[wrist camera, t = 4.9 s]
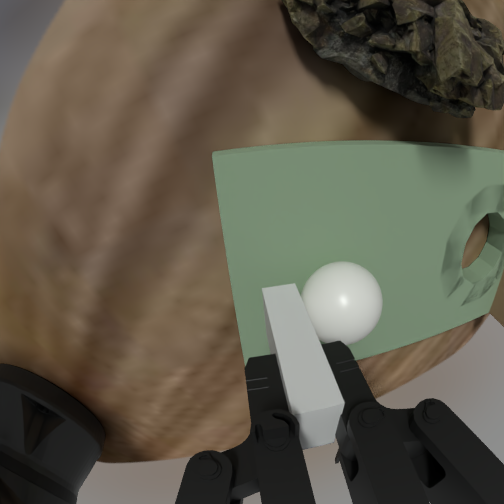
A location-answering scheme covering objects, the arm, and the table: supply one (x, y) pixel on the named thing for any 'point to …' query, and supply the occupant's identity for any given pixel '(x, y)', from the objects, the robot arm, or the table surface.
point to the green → (365, 230)
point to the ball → (342, 302)
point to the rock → (410, 48)
